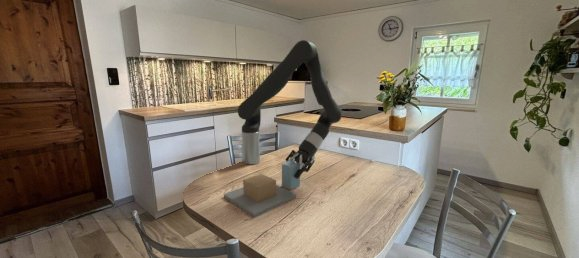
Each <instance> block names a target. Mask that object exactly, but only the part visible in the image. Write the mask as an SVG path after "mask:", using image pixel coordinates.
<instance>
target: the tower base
mask: <svg viewBox="0 0 579 258" xmlns="http://www.w3.org/2000/svg"><path fill="white" fill-rule="evenodd" d="M242 186H243V187H240V188H237V189H235V190H231V191H228V192H226V193H224V194H223V197H224V199H227V200H228V201H229V202H231V203H233V204H234V205H236V206H237V207H239V208H240V209H241V210H243V211H244V212H246V213H247V214H249V215H251V216H252V217H253V218H256V217H258V216H260V215H262V214H265V213H267V212H268V211H271V210H274V209H275V208H277V207H280V206H281V205H284V204H285V203H287V202H290V201H292V200H295V199H296V198H297V194H296V193H293V192H291V191H289V190H288V189H286V188H283V187H281V186H279V185H277V180H276V179H275V178H272V177H271V176H268V175H265V174H263V173H260V174H256V175H254V176H251V177H247V178H245V179H242Z"/></svg>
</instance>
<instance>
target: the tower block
mask: <svg viewBox="0 0 579 258" xmlns="http://www.w3.org/2000/svg"><path fill="white" fill-rule="evenodd" d="M299 168H300V164H299V163H296V162H293V161H289V162H287V161H285V162H283V163H281V186H282V188H283V187H284V188H285V189H287V190H290V191H292V190H294V189H296V188H298V187H299V188H300V186H301V176H300V177H299V178H298V179H296V178H295V177H294V175H295V173H296V172H297V170H298V169H299Z"/></svg>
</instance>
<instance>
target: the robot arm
mask: <svg viewBox="0 0 579 258" xmlns="http://www.w3.org/2000/svg"><path fill="white" fill-rule="evenodd" d="M303 64H304V65H305V66H306V68H307V70H308V73H309V77H310V82H311V89H312V92H313V95H314V97H315V99H316V101H317V104H318V105H319V106H321V107H323V110H324V111H322V113H321V114H320V115H319V117H318V119H317V121H316V124H315V125H314V126H313V128H312V129H311V130H310V132H308V134H307V135H306V136H305V137H304V139H303V140H302V142H301V143H300V144H299V146H298V150H297V152H296V151H295V150H294V149H292V150H291V152H290V153H289V154H288V155H287V156H286V158H285V162H289V161H293V162H296V163H299V164H300V168H299V169H298V170H297V172H296V173H295V175H294V177H295V178H296V179H298V178H299V177H300V178H301V176H302V174H303V173H305V172H306V173H308V172H309V171H310V170H311V168H312V166H313V164H314V163H315V159H313V158H312V157H313V156H314V154H315V155H316V153H317V151H318V150H320V149H319V148H320V147H321V145H322V144H323V142H324V141H325V139H326V138H327V136H328V134H329V133H330V127H331V126H332V125H333V124H335V123H338V122H340V121H341V119H342V110H341V109H340V107H339V105H338V104H337V102H336V100H335V99H334V98H333V96H332V93H331V90H330V87H329V86H328V83H327V81H326V78H325V75H324V71H323V68H322V66H321V61H320V57H319V53H318V48H317V46H316V44H314V43H313V42H312V41H309V40H306V39H305V40H303V39H301V40H300V41H297V42H296V43H295V45H293V47H292V48H291V50H290V51H289V52H288V54H286V56H285V57H284V59H283V60H282V61H281V62H280V63H279V64H278V65H277V66H276V67H275V68H274V69H273V71H271V72H270V73H269V74H268V75H267V77H266V78H265V79H264V80H263V81H262V83H260V85H259V86H258V87H257V88H256V89H255V90H254V91H253V92H252V93H251V94H250V95H249V96H248V97H247V98H246V99H244V100H243V101H242V102H241V103H240V105H239V106H238V107H237V116H238V117H239V118H240V119H242V120H245V121H244V123H243V125H242V126H241V142H242V143H241V161H242V162H243V164H244V165H255V164H256V165H257V164H258V163H259V164H260V162H261V153H260V152H261V151H260V150H261V148H260V147H261V146H260V127H261V120H262V119H261V117H262V116H261V115H262V114H261V106H262V105H264V104H265V103H266V102H267V101H269V100H271V99H272V98H274V97H275V96H276V95H278V93H280V92H281V91H282V90H283V89H284V88H285V87H286V85H287V84H288V82H289V81H290V79H291V76H292V75H293V73H294V72H295V71H296V70H297V69H298V68H299V67H300V66H301V65H303Z"/></svg>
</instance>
